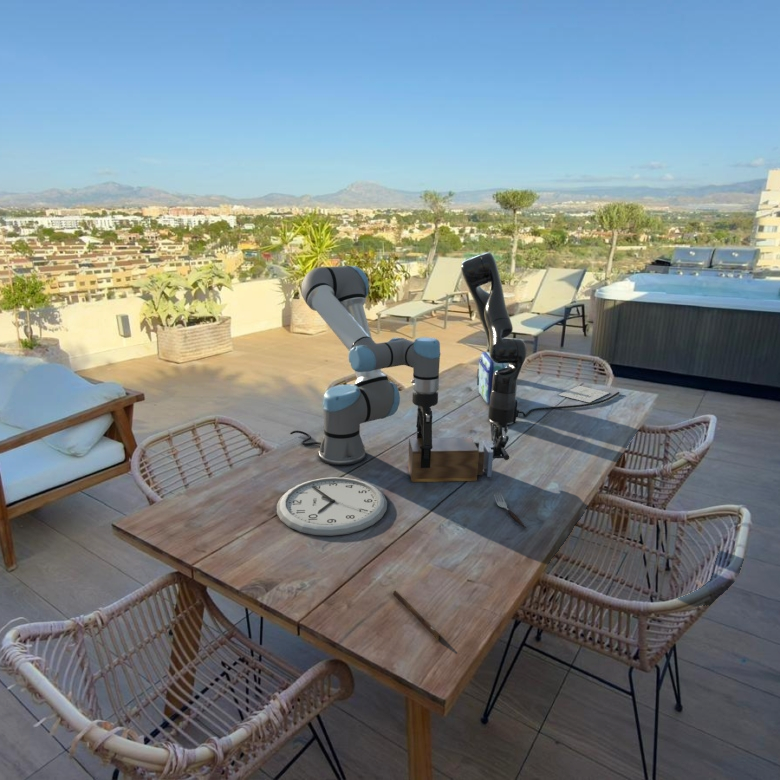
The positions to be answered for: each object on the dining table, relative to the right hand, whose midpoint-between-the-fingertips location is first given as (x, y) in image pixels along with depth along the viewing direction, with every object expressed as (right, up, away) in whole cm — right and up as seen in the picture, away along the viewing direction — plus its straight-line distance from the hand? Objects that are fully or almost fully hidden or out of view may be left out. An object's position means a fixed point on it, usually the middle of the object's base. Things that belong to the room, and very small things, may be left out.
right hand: (496, 457), depth 162 cm
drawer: (-9, -4, +1) cm, 10 cm away
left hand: (-23, 0, -2) cm, 23 cm away
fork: (-1, -12, -22) cm, 25 cm away
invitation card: (+57, +19, +81) cm, 101 cm away
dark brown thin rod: (-28, -24, -59) cm, 70 cm away
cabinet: (-17, -5, 0) cm, 18 cm away
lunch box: (+12, +17, +72) cm, 75 cm away
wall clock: (-49, -11, -19) cm, 53 cm away
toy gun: (+17, +28, +109) cm, 114 cm away
